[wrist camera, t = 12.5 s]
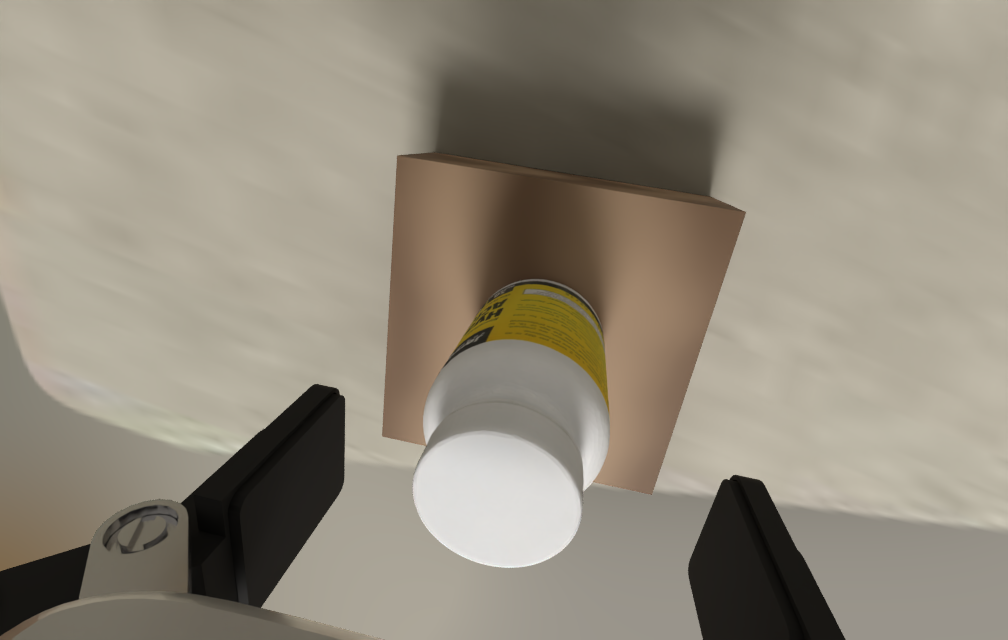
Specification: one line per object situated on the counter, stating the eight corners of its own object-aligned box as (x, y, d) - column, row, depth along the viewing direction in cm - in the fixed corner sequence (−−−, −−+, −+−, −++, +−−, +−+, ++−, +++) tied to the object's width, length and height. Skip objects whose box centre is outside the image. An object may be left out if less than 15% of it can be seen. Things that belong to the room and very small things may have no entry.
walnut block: (710, 196, 21) (746, 212, 17) (639, 432, 26) (651, 494, 22) (434, 152, 23) (397, 155, 18) (415, 386, 27) (382, 436, 23)
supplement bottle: (505, 252, 19) (431, 357, 10) (627, 312, 19) (669, 472, 10) (455, 361, 21) (355, 531, 12) (565, 414, 21) (551, 624, 12)
